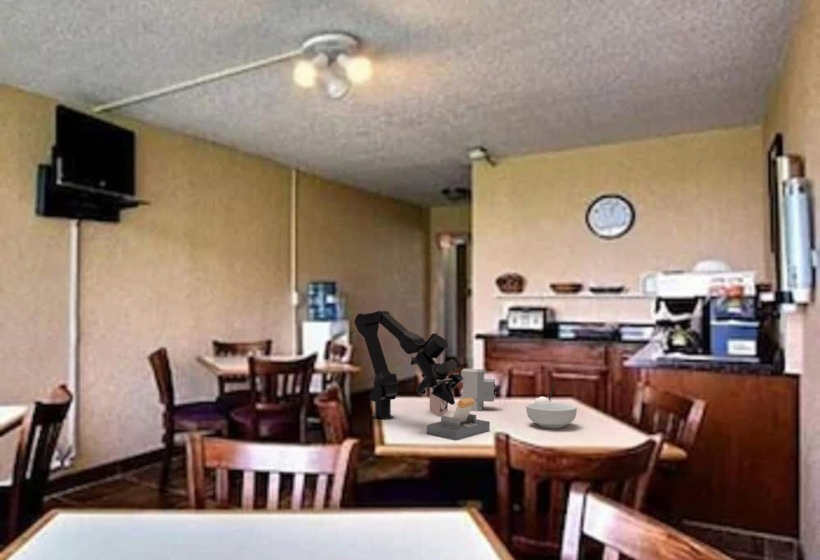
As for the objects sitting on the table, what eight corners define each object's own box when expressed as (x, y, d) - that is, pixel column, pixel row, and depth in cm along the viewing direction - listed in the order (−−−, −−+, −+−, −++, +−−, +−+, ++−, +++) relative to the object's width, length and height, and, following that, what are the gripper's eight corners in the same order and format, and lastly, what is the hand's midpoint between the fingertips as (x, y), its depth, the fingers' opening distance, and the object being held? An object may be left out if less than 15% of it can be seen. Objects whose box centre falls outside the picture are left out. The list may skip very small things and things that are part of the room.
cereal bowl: (580, 423, 236) (580, 403, 236) (571, 433, 221) (571, 412, 221) (533, 419, 243) (533, 399, 243) (520, 428, 228) (520, 407, 228)
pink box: (441, 417, 246) (441, 375, 246) (422, 415, 248) (422, 374, 248) (449, 411, 257) (450, 371, 257) (431, 409, 259) (431, 370, 259)
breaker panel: (426, 433, 219) (426, 417, 219) (461, 425, 232) (461, 409, 232) (455, 440, 211) (456, 422, 211) (489, 430, 224) (489, 414, 224)
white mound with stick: (529, 414, 253) (527, 382, 253) (535, 411, 258) (534, 380, 258) (553, 416, 248) (551, 384, 248) (559, 413, 253) (557, 381, 253)
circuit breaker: (497, 411, 256) (498, 372, 256) (460, 410, 259) (460, 371, 259) (499, 408, 264) (499, 369, 264) (462, 406, 266) (463, 368, 266)
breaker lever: (450, 421, 220) (459, 399, 217) (462, 418, 225) (471, 397, 222) (454, 425, 219) (463, 403, 216) (466, 422, 223) (475, 400, 221)
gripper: (423, 354, 219) (449, 392, 212) (459, 349, 233) (484, 385, 226) (405, 375, 225) (430, 413, 218) (441, 370, 239) (465, 405, 231)
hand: (453, 403), depth 223 cm, fingers closed
